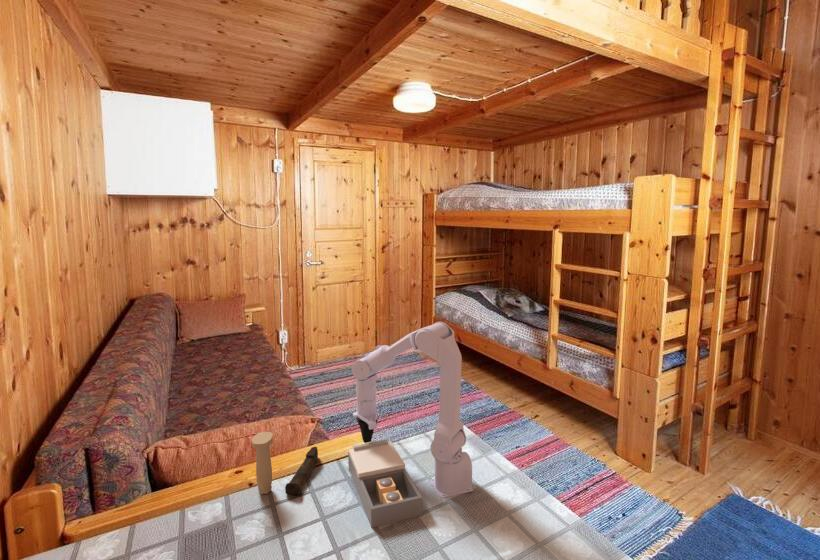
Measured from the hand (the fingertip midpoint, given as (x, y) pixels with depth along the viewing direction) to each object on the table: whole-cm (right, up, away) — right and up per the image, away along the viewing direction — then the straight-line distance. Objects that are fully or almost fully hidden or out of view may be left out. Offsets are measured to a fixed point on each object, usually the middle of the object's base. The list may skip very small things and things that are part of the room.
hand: (367, 441), depth 127 cm
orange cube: (+7, -8, -17) cm, 20 cm away
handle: (-25, -8, -14) cm, 30 cm away
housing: (+5, -8, -14) cm, 17 cm away
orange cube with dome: (+9, -8, -23) cm, 26 cm away
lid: (+3, -2, -9) cm, 10 cm away
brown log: (-17, -7, -7) cm, 20 cm away
